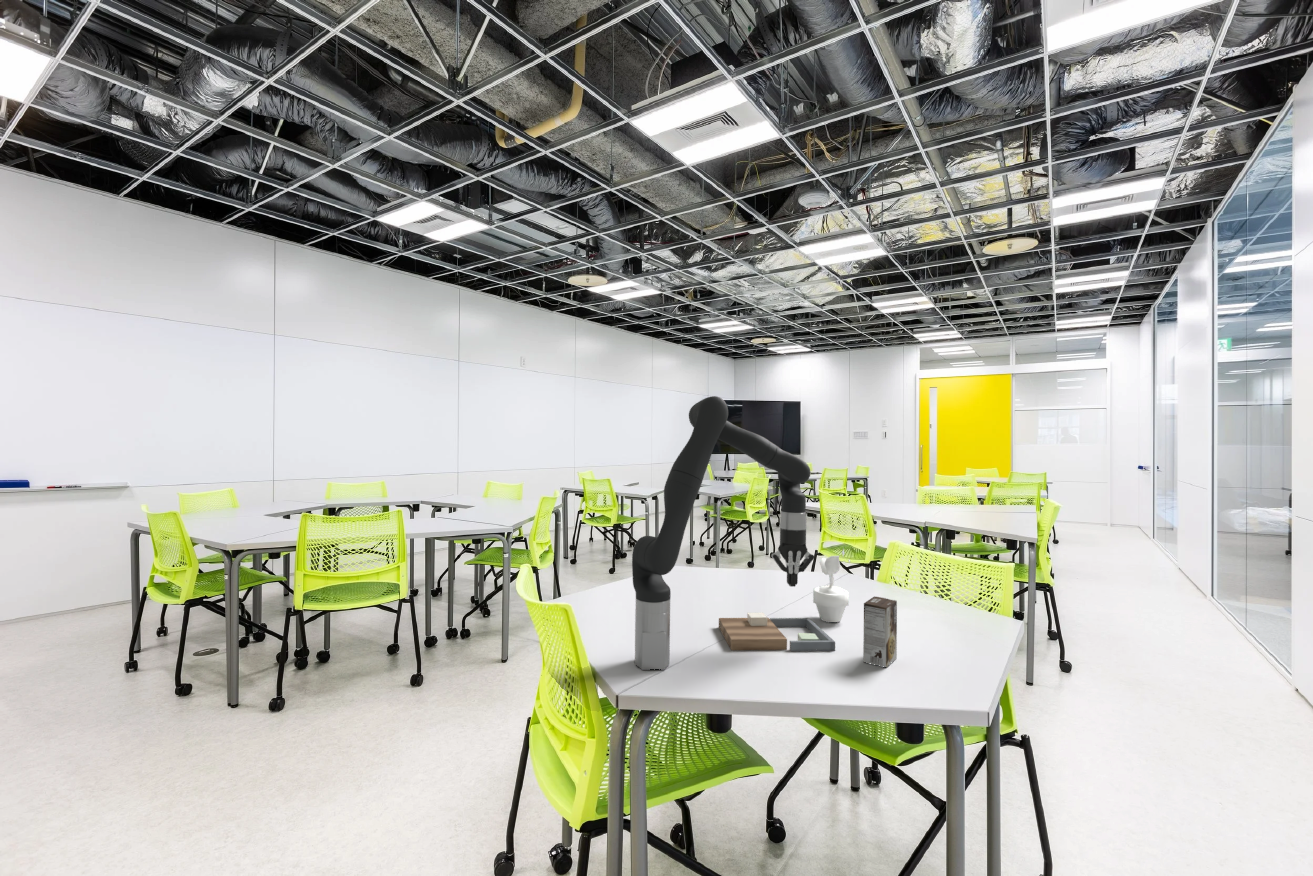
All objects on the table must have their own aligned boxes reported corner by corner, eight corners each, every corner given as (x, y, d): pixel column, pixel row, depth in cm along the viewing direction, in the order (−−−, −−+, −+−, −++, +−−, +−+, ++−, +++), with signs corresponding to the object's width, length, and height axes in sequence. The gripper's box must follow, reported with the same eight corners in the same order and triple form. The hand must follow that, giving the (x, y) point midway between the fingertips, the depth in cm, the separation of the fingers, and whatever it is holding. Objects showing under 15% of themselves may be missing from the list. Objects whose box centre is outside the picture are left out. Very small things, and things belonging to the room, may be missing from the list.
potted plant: (853, 626, 184) (854, 548, 184) (817, 625, 184) (818, 548, 184) (841, 614, 197) (842, 542, 197) (808, 613, 197) (808, 541, 197)
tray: (835, 650, 162) (835, 641, 162) (790, 651, 161) (791, 642, 161) (808, 625, 184) (808, 617, 184) (769, 625, 183) (769, 618, 183)
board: (786, 649, 162) (787, 639, 162) (731, 650, 161) (731, 639, 161) (768, 627, 182) (768, 617, 182) (718, 627, 181) (718, 618, 181)
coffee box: (873, 653, 160) (874, 595, 160) (897, 659, 156) (897, 600, 156) (862, 662, 153) (862, 602, 153) (886, 668, 149) (887, 607, 149)
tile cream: (767, 625, 174) (767, 617, 174) (751, 625, 173) (751, 617, 173) (763, 620, 179) (763, 612, 179) (747, 620, 178) (747, 612, 178)
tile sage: (801, 638, 165) (801, 647, 165) (818, 639, 165) (818, 647, 165) (797, 633, 170) (797, 641, 170) (814, 633, 170) (814, 642, 170)
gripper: (774, 528, 164) (773, 589, 164) (819, 529, 165) (818, 589, 164) (767, 525, 171) (766, 582, 171) (810, 525, 172) (809, 583, 172)
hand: (792, 585), depth 168 cm, fingers closed
